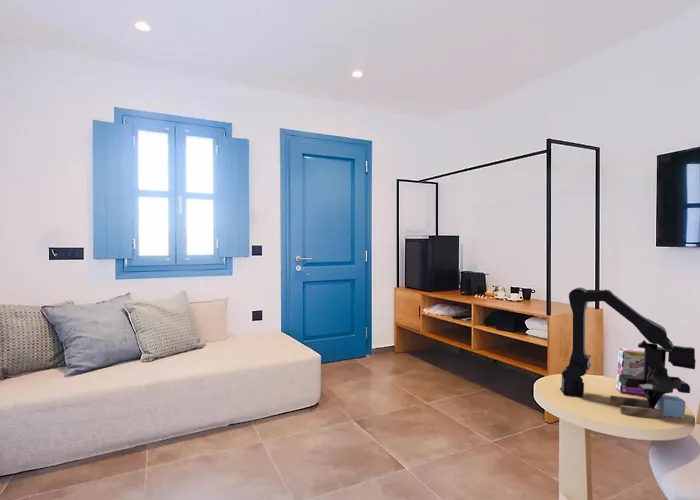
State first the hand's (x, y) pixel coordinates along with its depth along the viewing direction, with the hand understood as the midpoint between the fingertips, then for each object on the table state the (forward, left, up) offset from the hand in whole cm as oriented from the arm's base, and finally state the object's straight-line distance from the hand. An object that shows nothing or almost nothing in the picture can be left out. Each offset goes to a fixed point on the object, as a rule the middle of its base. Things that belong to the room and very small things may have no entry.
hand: (652, 408), depth 134 cm
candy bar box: (+2, +18, -2) cm, 18 cm away
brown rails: (-5, 0, -1) cm, 5 cm away
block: (+5, 0, -1) cm, 5 cm away
